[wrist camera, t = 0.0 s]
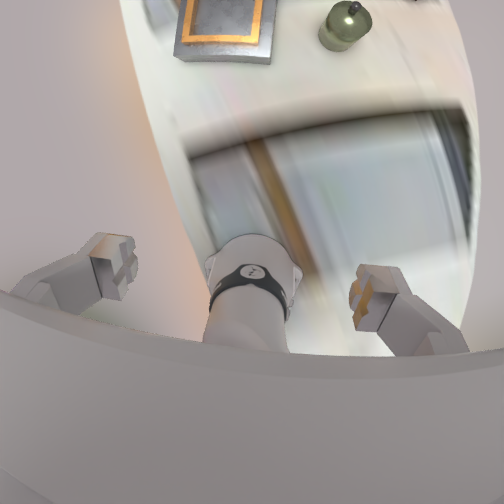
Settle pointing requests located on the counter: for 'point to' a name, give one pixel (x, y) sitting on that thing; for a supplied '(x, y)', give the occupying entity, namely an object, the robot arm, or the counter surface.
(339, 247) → the counter surface
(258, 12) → the grey drawer box
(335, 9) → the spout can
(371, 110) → the counter surface
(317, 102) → the counter surface
